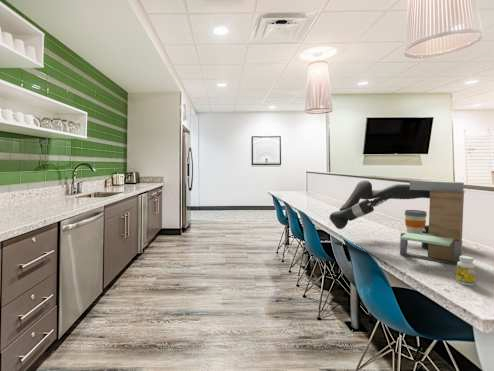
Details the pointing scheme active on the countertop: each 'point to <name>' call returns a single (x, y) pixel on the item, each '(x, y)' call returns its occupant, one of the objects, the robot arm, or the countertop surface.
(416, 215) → the reusable coffee cup
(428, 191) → the robot arm
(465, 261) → the supplement bottle
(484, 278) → the countertop surface
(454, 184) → the slate bar
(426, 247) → the supplement bottle
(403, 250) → the trapdoor frame
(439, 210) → the walnut pedestal
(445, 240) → the trapdoor
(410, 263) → the countertop surface
